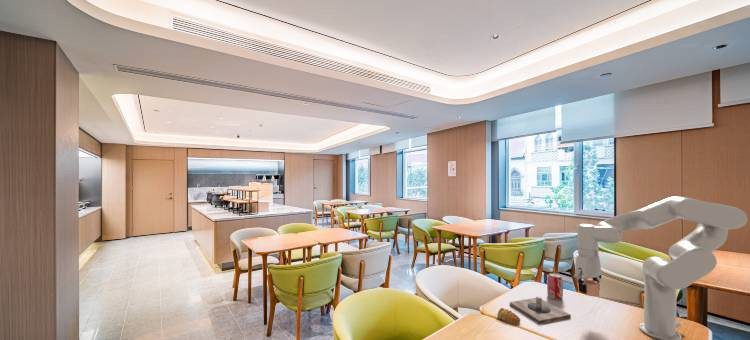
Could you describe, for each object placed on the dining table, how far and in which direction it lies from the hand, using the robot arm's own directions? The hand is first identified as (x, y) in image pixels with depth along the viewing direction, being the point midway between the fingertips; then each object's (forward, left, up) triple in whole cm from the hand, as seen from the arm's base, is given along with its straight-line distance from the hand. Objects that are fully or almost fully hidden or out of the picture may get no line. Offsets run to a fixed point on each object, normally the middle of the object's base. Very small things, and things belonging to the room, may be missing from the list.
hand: (589, 290), depth 129 cm
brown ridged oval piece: (+33, -12, -14) cm, 38 cm away
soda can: (-6, -22, -14) cm, 27 cm away
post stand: (+14, -13, -14) cm, 24 cm away
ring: (0, 0, -1) cm, 1 cm away
